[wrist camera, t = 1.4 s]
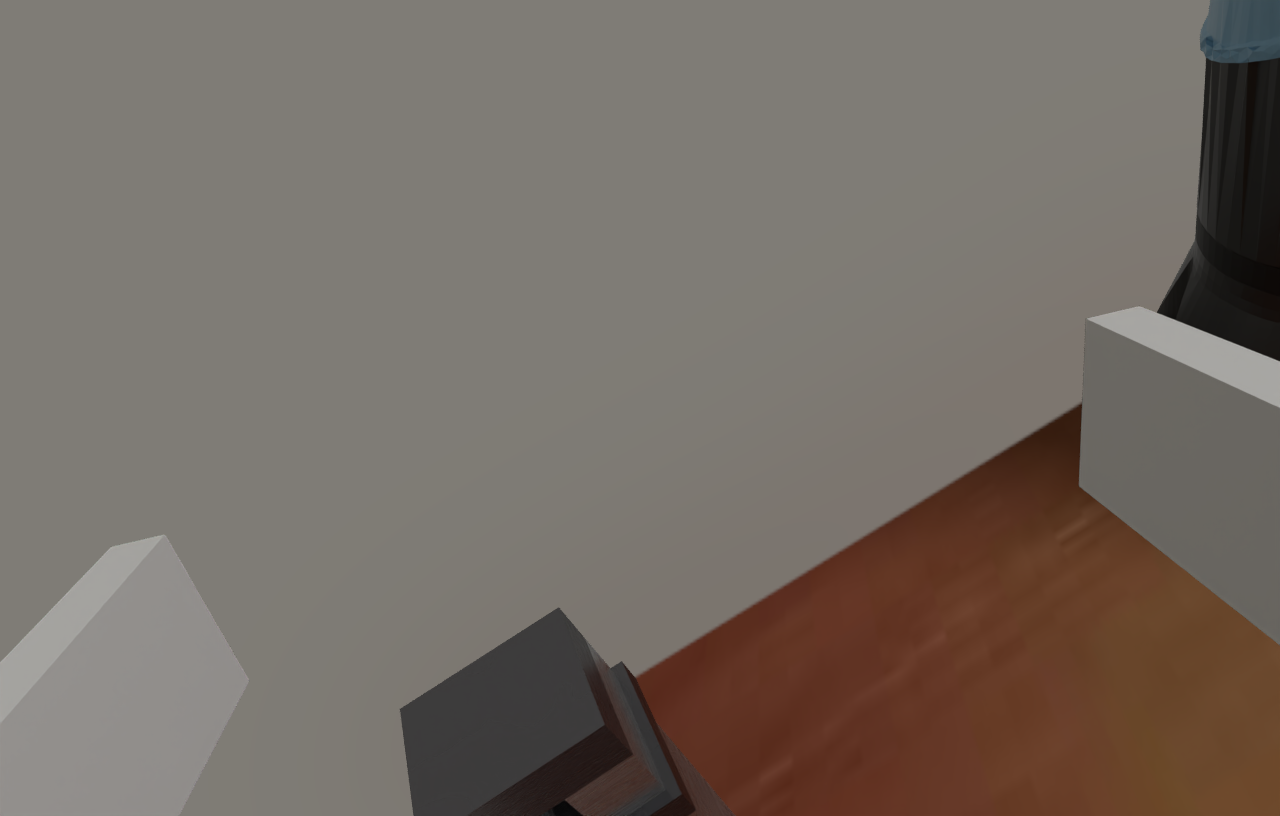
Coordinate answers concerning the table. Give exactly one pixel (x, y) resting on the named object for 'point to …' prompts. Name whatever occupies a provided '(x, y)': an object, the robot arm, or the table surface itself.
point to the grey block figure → (546, 738)
